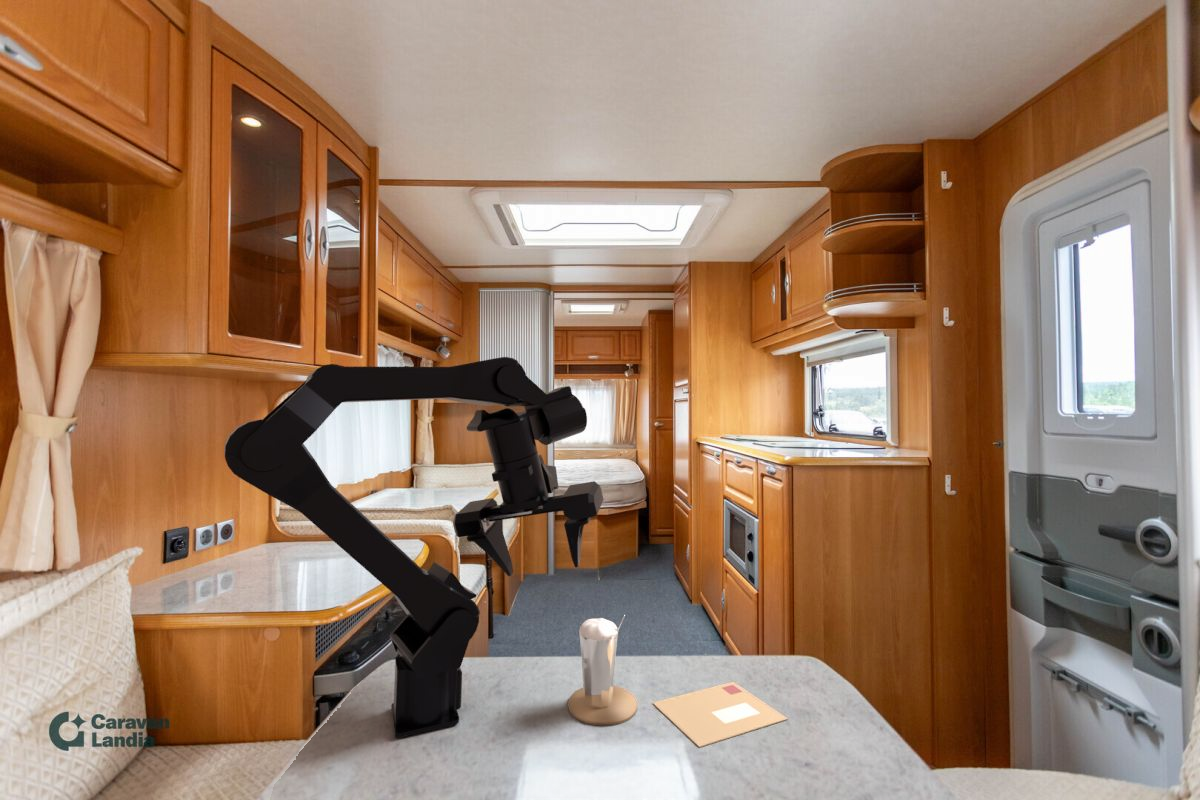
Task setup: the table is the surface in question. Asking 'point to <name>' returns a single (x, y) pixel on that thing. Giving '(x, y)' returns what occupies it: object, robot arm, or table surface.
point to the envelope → (718, 713)
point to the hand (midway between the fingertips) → (543, 570)
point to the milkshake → (598, 660)
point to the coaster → (610, 715)
